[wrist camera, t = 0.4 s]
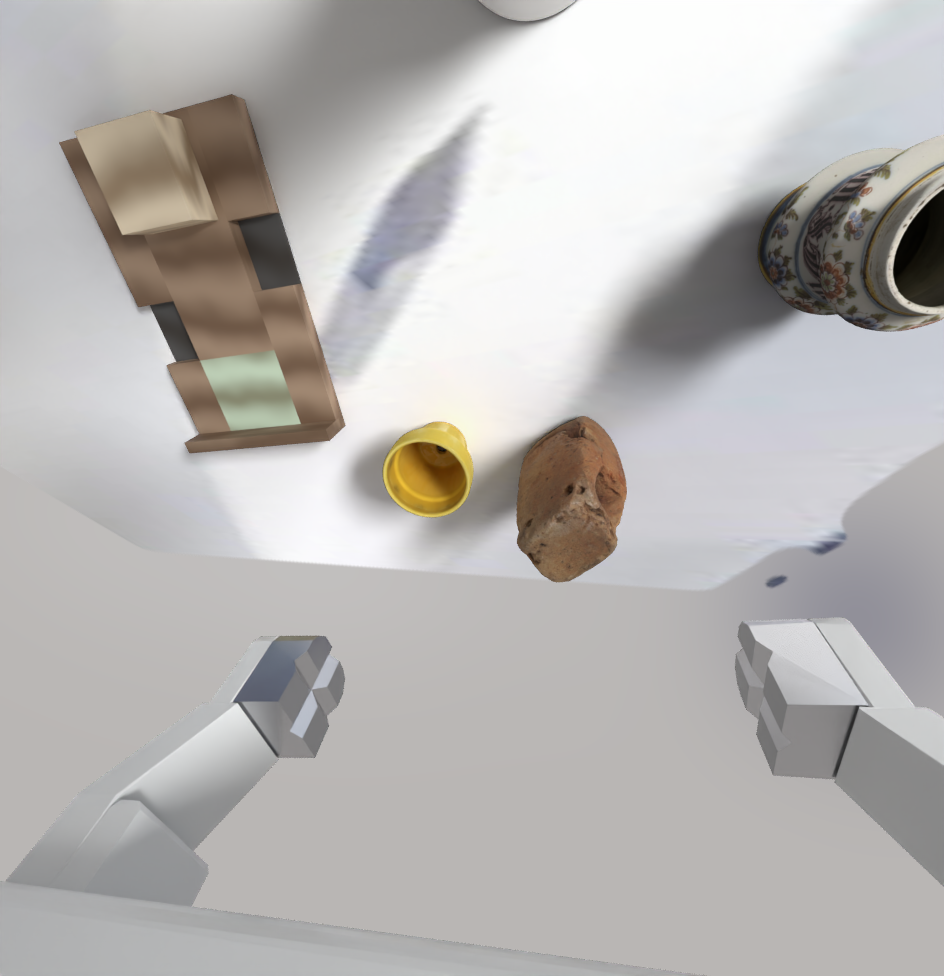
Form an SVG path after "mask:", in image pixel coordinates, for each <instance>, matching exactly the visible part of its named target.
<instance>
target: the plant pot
mask: <svg viewBox="0 0 944 976" xmlns="http://www.w3.org/2000/svg"><path fill="white" fill-rule="evenodd" d="M438 446H441V447H443V448H445V449H446V451H444V452H441V451H439V449H438ZM472 479H473V462H472V459H471V456H470V454H469V452H468V450H467V445H466V441H465V438H464V436H463V434H462V433H461V432H460V431H459V430H458V429H457V428H456V427H455V426H453V425H451V424H449V423H446V422H433V423H430V424H428V425H426V426H424V427H423V428H420V429H415V430H412V431H410V432H408V433H406V434H404V435H403V436H402V437H401V438H400V439H399V440H398V441H397V442H396V443H395V444H394V445H393V447H392V448H391V450H390V451H389V453H388V454H387V456H386V458H385V461H384V464H383V481H384V484H385V487H386V489H387V491H388V493H389V495H390V496H391V498H392V499H393V500H394V501H395V502H396V503H397V504H398V505H399V506H400V507H402V508H403V509H405V510H406V511H408V512H410V513H412V514H415V515H418V516H423V517H441V516H445V515H448V514H450V513H452V512H454V511H456V510H457V509H458V508H459V507H460V506H461V505H462V504H463V503H464V502H465V500H466V499H467V497H468V494H469V491H470V488H471V484H472Z"/></svg>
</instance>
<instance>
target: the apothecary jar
mask: <svg viewBox="0 0 944 976" xmlns="http://www.w3.org/2000/svg"><path fill="white" fill-rule="evenodd" d="M758 260H759V266H760V269H761V272H762V274H763V276H764V277H765V279H766V280H767V281H768V282H769V283H770V284H771V285H772V286H773V287H774V288H775V289H776V291H777V292H778V294H779V295H780V296H781V298H782V299H783V300H784V301H786V302H787V303H788V304H789V305H791V306H792V307H794V308H796V309H798V310H800V311H803V312H806V313H811V314H818V315H835V314H838V315H839V316H841V317H842V318H843V319H844V320H846V321H847V322H849V323H852V324H854V325H856V326H858V327H861V328H865V329H869V330H875V331H902V330H909V329H914V328H918V327H922V326H925V325H929V324H932V323H934V322H937V321H940V320H942V319H944V135H941V136H937V137H934V138H931V139H929V140H926V141H924V142H921V143H919V144H917V145H915V146H912V147H910V148H908V149H907V150H901V149H893V148H879V149H871V150H866V151H862V152H858V153H855V154H852V155H850V156H847V157H845V158H843V159H841V160H839V161H837V162H835V163H833V164H831V165H830V166H828V167H826V168H825V169H823V170H822V171H821V172H819V173H818V174H817V175H815V176H814V177H813V178H812V179H810V180H809V181H808V182H807V183H805V184H803V185H801V186H800V187H798V188H797V189H795V190H794V191H792V192H791V193H790V194H789V195H787V196H786V197H785V198H784V199H783V200H782V201H781V202H780V203H779V204H778V206H777V207H776V208H775V209H774V211H773V212H772V213H771V215H770V217H769V218H768V220H767V222H766V224H765V226H764V228H763V231H762V233H761V237H760V242H759V247H758Z"/></svg>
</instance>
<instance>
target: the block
mask: <svg viewBox="0 0 944 976" xmlns="http://www.w3.org/2000/svg"><path fill="white" fill-rule="evenodd" d="M518 486H519V490H518V498H517V526H518V530H519V534H518V538H517V544H518V546H519V548H520V549H521V551H522V552H524V553H525V554H526V555H527V556H528V557H529V559H530V560H531V561H532V563H533V564H534V566H535V567H536V568H537V569H538V570H539V572H540V573H541V574H542V575H543V576H545V577H547V578H548V579H550V580H551V581H553V582H566V581H571V580H572V579H574V578H576V577H578V576H580V575H581V574H583V573H584V572H586V571H588V570H589V569H591V568H593V567H594V566H596V565H597V564H599V563H600V562H602V561H603V560H605V559H606V558H607V557H608V556H609V555H610V554H611V553H612V552H613V551H614V550H615V548H616V546H617V537H616V534H615V533H616V527H617V526H618V525H619V523H620V519H621V516H622V512H623V509H624V502H625V500H626V494H627V487H626V479H625V475H624V471H623V468H622V464H621V460H620V458H619V455H618V452H617V449H616V447H615V445H614V443H613V442H612V440H611V438H610V437H609V435H608V434H607V433H606V432H605V430H604V429H603V428H602V427H601V426H600V425H599V424H598V423H596V422H595V421H593V420H592V419H590V418H588V417H586V416H581V417H578V418H576V419H575V420H572V421H570V422H568V423H565V424H563V425H561V426H559V427H558V428H556V429H555V430H553V431H552V432H550V433H549V434H547V435H546V436H545V437H543V438H542V439H541V440H540V441H539V442H537V443H536V444H535V445H534V446H533V447H532V448H531V450H530V451H529V452H528V453H527V455H526V456H525V458H524V461H523V464H522V468H521V472H520V478H519V485H518Z"/></svg>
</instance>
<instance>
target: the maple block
mask: <svg viewBox="0 0 944 976" xmlns="http://www.w3.org/2000/svg"><path fill="white" fill-rule="evenodd" d="M74 132H75V134H76V136H77V139H78V141H79V143H80V145H81V147H82V149H83V151H84V154H85V156H86V158H87V160H88V162H89V164H90V166H91V169H92V171H93V173H94V175H95V177H96V179H97V182H98V184H99V186H100V188H101V190H102V192H103V194H104V197H105V199H106V201H107V203H108V205H109V207H110V210H111V212H112V214H113V216H114V218H115V220H116V222H117V225H118V227H119V229H120V231H121V233H122V235H145V234H156V233H161V232H165V231H170V230H175V229H180V228H184V227H189V226H194V225H198V224H203V223H208V222H212V221H217V220H218V217H217V215H216V212H215V209H214V207H213V204H212V201H211V199H210V196H209V193H208V190H207V188H206V185H205V182H204V180H203V177H202V174H201V171H200V169H199V166H198V163H197V161H196V158H195V155H194V152H193V150H192V147H191V144H190V142H189V139H188V136H187V134H186V131H185V128H184V125H183V123H182V120H181V119H178V118H175V117H172V116H168V115H165V114H161V113H158V112H155V111H151V110H148V111H145V112H141V113H138V114H134V115H131V116H127V117H124V118H120V119H116V120H113V121H109V122H106V123H102V124H99V125H95V126H92V127H88V128H85V129H81V130H78V131H74Z"/></svg>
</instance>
